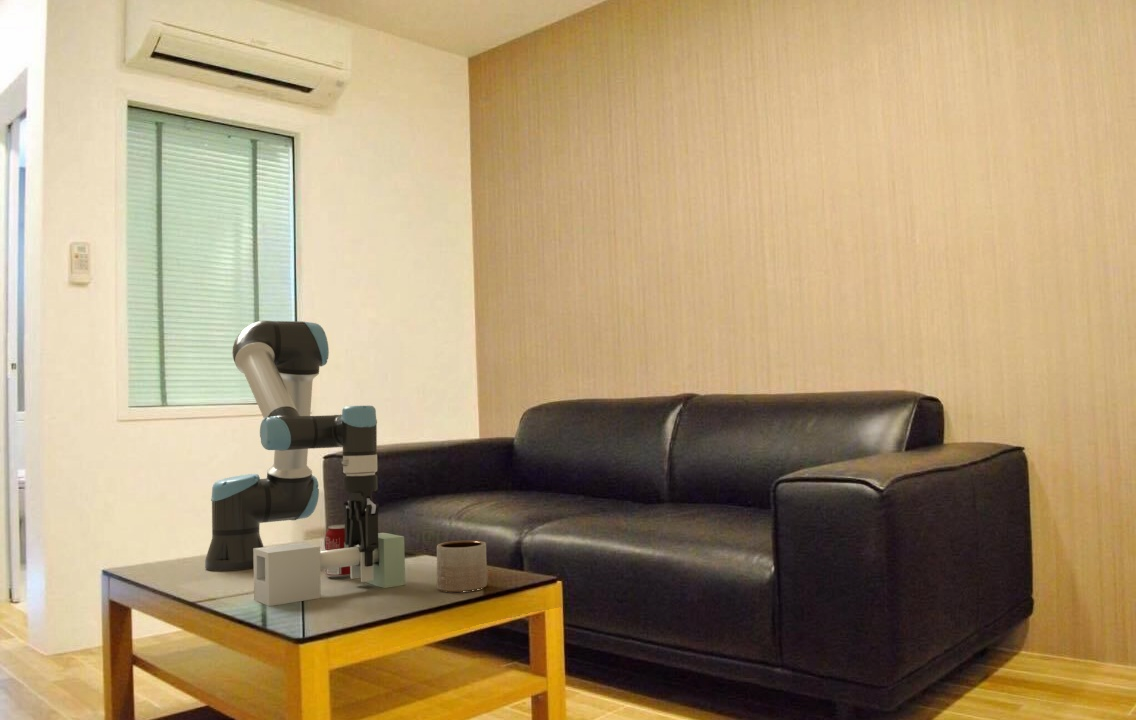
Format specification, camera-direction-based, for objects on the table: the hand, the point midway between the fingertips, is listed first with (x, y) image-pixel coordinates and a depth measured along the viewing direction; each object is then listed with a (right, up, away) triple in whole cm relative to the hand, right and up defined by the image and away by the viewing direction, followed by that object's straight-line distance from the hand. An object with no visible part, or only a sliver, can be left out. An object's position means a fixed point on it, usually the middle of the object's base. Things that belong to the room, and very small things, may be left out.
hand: (361, 579), depth 197 cm
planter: (+23, -1, -5) cm, 24 cm away
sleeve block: (-13, -2, -11) cm, 17 cm away
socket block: (+4, -2, +3) cm, 6 cm away
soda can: (-8, -3, +14) cm, 16 cm away
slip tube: (-3, +3, -2) cm, 5 cm away
